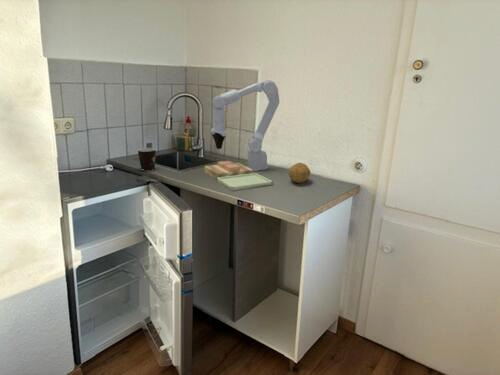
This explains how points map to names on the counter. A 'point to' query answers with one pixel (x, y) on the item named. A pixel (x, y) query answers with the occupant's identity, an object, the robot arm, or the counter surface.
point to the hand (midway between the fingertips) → (219, 148)
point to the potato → (299, 172)
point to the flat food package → (220, 172)
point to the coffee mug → (147, 158)
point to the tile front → (232, 167)
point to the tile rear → (224, 163)
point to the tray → (244, 181)
